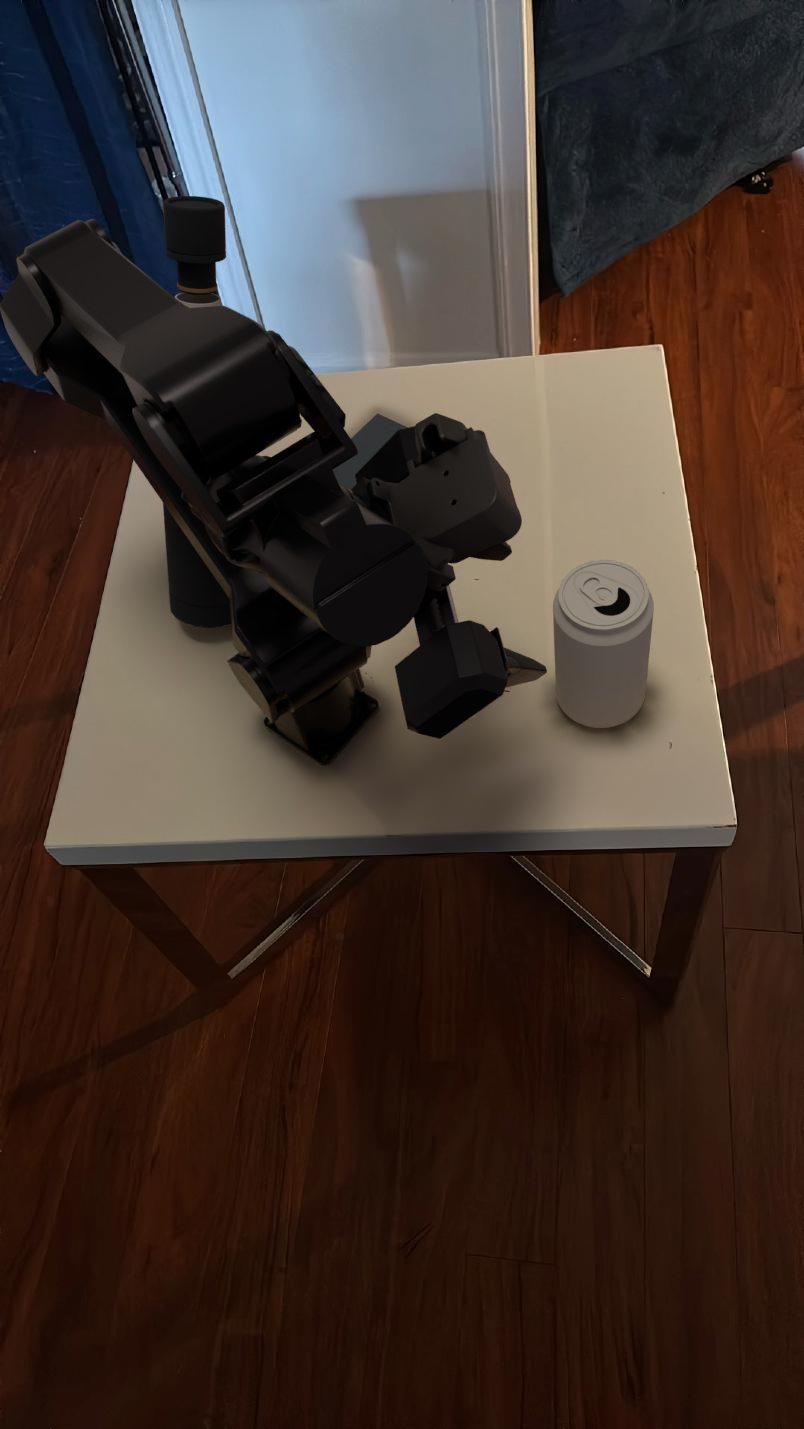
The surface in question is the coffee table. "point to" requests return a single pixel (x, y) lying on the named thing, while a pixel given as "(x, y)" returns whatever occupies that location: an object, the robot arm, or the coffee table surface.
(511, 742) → the coffee table surface
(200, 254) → the wine bottle
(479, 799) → the coffee table surface
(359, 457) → the felt pad
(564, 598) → the beverage can
